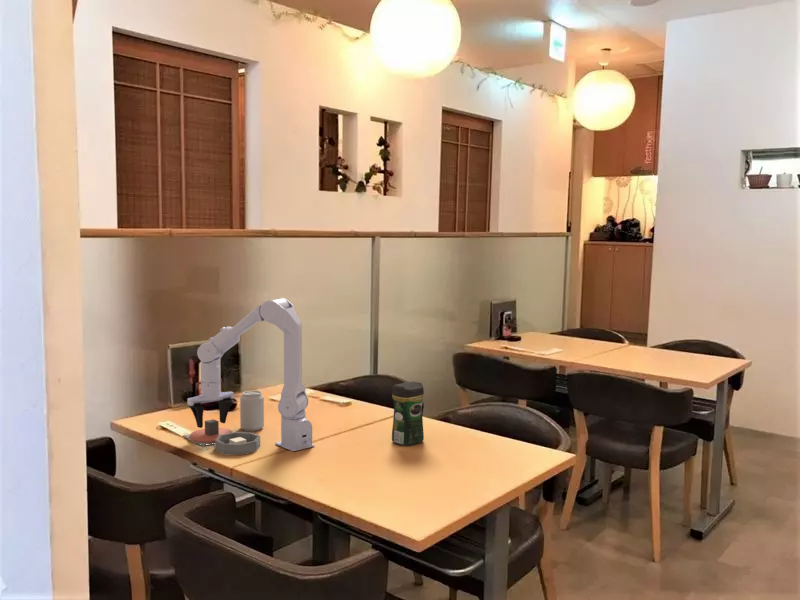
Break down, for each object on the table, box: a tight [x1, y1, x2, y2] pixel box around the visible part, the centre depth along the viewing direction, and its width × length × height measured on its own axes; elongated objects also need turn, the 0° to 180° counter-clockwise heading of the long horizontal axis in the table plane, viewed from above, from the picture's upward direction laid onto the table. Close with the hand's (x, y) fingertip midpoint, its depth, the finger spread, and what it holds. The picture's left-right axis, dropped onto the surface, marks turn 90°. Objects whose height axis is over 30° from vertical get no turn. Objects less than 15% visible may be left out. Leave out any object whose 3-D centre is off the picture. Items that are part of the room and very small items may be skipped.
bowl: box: [214, 431, 261, 456], centre depth 204 cm, size 12×12×3 cm
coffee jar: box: [391, 380, 425, 447], centre depth 212 cm, size 10×8×19 cm
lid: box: [190, 418, 234, 443], centre depth 213 cm, size 13×13×5 cm
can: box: [239, 390, 265, 432], centre depth 224 cm, size 8×8×12 cm
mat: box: [183, 433, 215, 446], centre depth 213 cm, size 12×12×1 cm
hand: (211, 424), depth 213 cm, fingers open, 7 cm apart
